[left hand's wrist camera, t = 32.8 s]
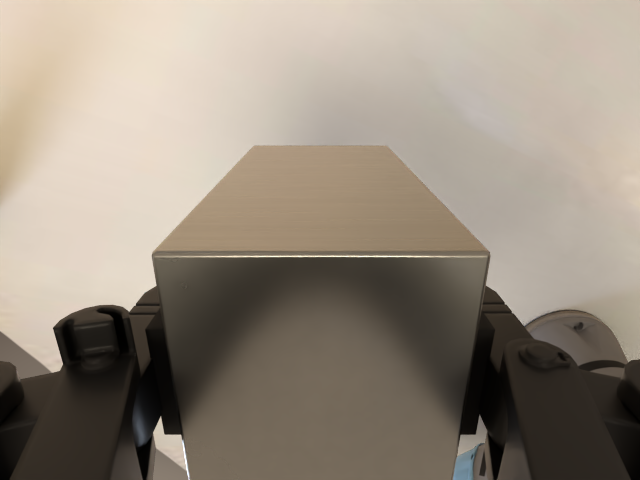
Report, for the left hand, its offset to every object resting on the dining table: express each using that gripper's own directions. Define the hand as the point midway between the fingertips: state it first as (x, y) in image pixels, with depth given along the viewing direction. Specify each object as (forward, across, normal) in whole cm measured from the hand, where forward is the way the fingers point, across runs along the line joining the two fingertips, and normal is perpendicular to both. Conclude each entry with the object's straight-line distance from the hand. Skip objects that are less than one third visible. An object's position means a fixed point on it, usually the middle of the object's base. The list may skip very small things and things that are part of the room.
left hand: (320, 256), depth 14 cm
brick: (+3, 0, 0) cm, 3 cm away
